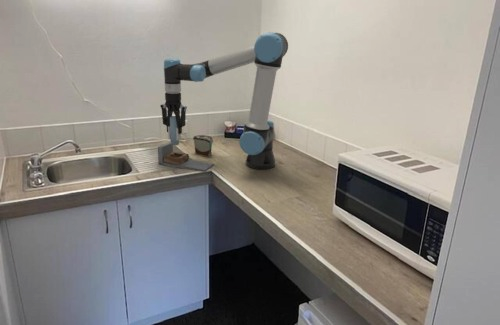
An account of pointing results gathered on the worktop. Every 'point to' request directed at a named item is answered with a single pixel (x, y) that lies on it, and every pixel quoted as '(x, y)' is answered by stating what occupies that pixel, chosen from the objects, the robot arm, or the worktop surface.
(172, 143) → the dowel
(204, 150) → the food container
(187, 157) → the socket block
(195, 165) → the board
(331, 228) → the worktop surface
